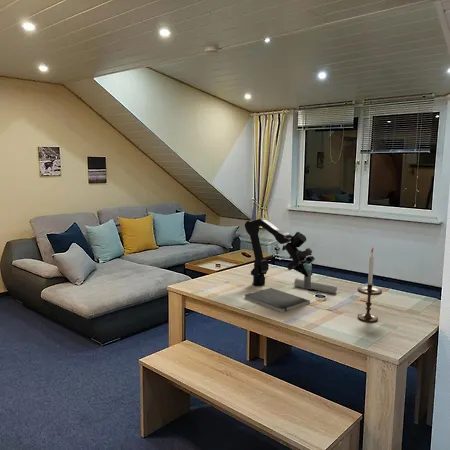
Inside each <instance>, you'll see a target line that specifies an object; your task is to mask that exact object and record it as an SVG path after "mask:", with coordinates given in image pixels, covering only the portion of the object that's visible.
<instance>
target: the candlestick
mask: <svg viewBox="0 0 450 450" xmlns="http://www.w3.org/2000/svg"><path fill="white" fill-rule="evenodd" d="M370 252H371V254H370V255H369V261H368V262H369V263H368V276H367V277H368V279H367V282H366V283H365V285H366V286H365V285H364V286H363V285H361V286H359V287H357V289H356V290H357V292H358V293H360V294H362V295H367V300H366V302H365V305H366V307H365V310H366V313H359V314H358V315H357V320H359V321H361V322H363V323H377V322H379V318H378V316H376V315H374V314H371V313H370V312H371V310H372V308H371V307H372V304H373V303H372V302H371V299H372V297H371V296H379V295H382V293H383V290H382V289H381V288H378V287H375V284H374V283H373V276H374V261H375V260H374V259H375V256H374V247H372V248H371V251H370Z"/></svg>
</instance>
